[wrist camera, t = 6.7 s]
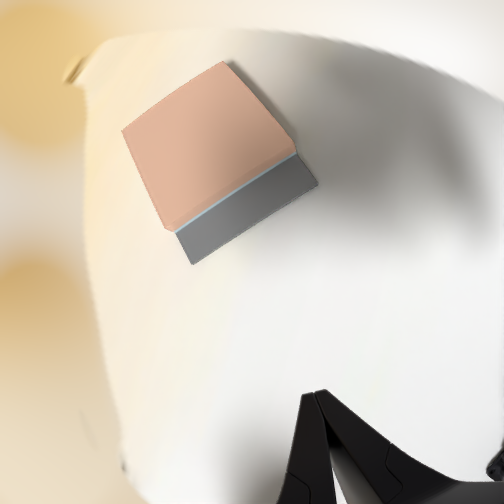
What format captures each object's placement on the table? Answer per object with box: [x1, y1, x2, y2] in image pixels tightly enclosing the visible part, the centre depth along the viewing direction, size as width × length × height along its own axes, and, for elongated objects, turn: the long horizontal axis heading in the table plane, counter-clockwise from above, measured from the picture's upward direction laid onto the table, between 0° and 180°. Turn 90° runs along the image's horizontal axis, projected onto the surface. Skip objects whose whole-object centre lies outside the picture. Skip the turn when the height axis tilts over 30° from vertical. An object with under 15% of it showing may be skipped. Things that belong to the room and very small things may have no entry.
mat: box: [176, 154, 318, 265], centre depth 21 cm, size 13×10×1 cm
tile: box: [122, 61, 297, 233], centre depth 20 cm, size 2×10×10 cm
